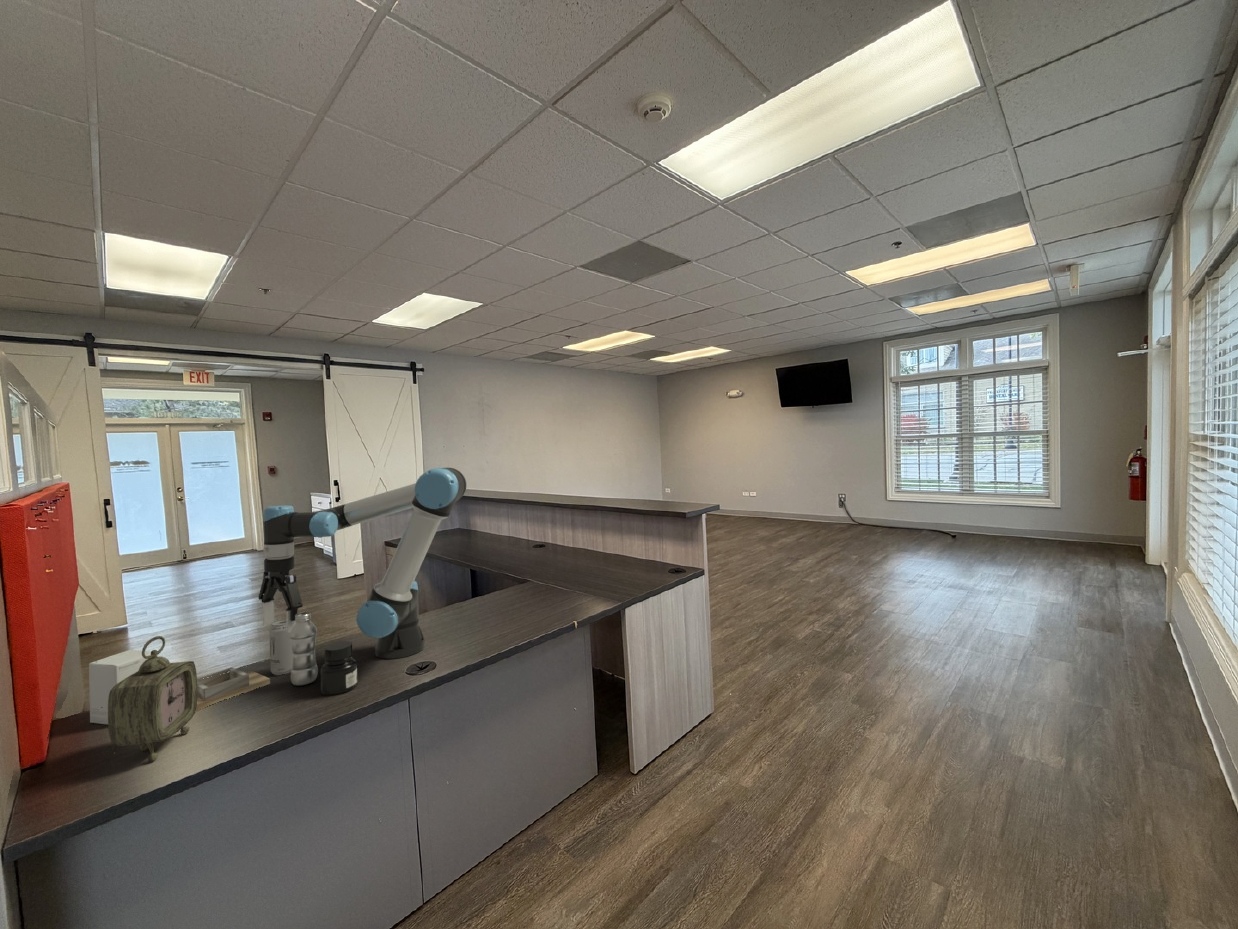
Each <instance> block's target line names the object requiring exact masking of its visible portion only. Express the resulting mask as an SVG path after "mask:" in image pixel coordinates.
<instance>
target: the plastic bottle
mask: <svg viewBox="0 0 1238 929" xmlns="http://www.w3.org/2000/svg"><path fill="white" fill-rule="evenodd" d="M311 620H312V616H311V612H310V611H302V612H298V614H296V615H295V622H296V624H295V626H294V627H293V629H292V630H291V633H290V638H291V644H292V651H293V664H292V671H291V672H290V682H291V683H292V684H293V685H294V686H305V685H308V684H310V683H311V684H312V683H313V682H315V681H316V679H317V678H318V674H319V668H318V665H317V658H316V641H317V634H318V629H317V626H316V625H315V624H314V623H313V622H312V621H311Z"/></svg>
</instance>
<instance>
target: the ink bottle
mask: <svg viewBox="0 0 1238 929" xmlns="http://www.w3.org/2000/svg"><path fill="white" fill-rule="evenodd" d="M323 650H324V651H323V652H324V664H323V665H322V666H321V668H320V691H321V693H322V694H324V695H327V696H331V695H333V696H334V695H340V694H343V693H347V692H349V691H351V690H353V689H354V688H356V687H357V684H358V664H357V660H356V659H354V658H353V642H351V641H346V640H344V641H337V642H333V643H329V644H327V645H325V646H324V648H323Z"/></svg>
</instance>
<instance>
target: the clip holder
mask: <svg viewBox="0 0 1238 929" xmlns="http://www.w3.org/2000/svg"><path fill="white" fill-rule="evenodd" d="M234 669H236V670H234ZM231 670H234V671H231ZM228 671H230V672H229V673H227V672H228ZM223 673H225V674H223ZM220 674H221V675H220ZM211 676H212V677H211ZM207 677H209V678H207ZM203 678H204V679H203ZM270 684H271V678H270V677H267V676H265V675H262V674H260V673H258V672H255V671H252V670H249V671H246V672H245V671H242V670H239V669H237V668H235V667H232V666H231V667H229V668H226V669H223V670H219V671H217V672H213V673H210V674H207V675H204V676H201V677H197V706H196V711H195V712H197V711H200V710H203V709H206V708H208V707H210V706H209V705H211V706H213V705H212V704H214V703H216V702H219V701H221V700H224V699H227V700H229V698H230V699H232V698H231V697H233V696H235V697H237V696H236V695H238V696H240V695H239V694H241V693H244V694H246V693H249V692H252V691H254V689H255V690H256V688H257V689H259V687H260V688H263V687H264V686H265V687H266V686H267V685H270ZM241 695H242V694H241ZM233 698H234V697H233ZM219 703H220V702H219ZM216 704H217V703H216ZM214 705H215V704H214ZM207 706H208V707H207ZM205 707H206V708H205Z"/></svg>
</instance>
